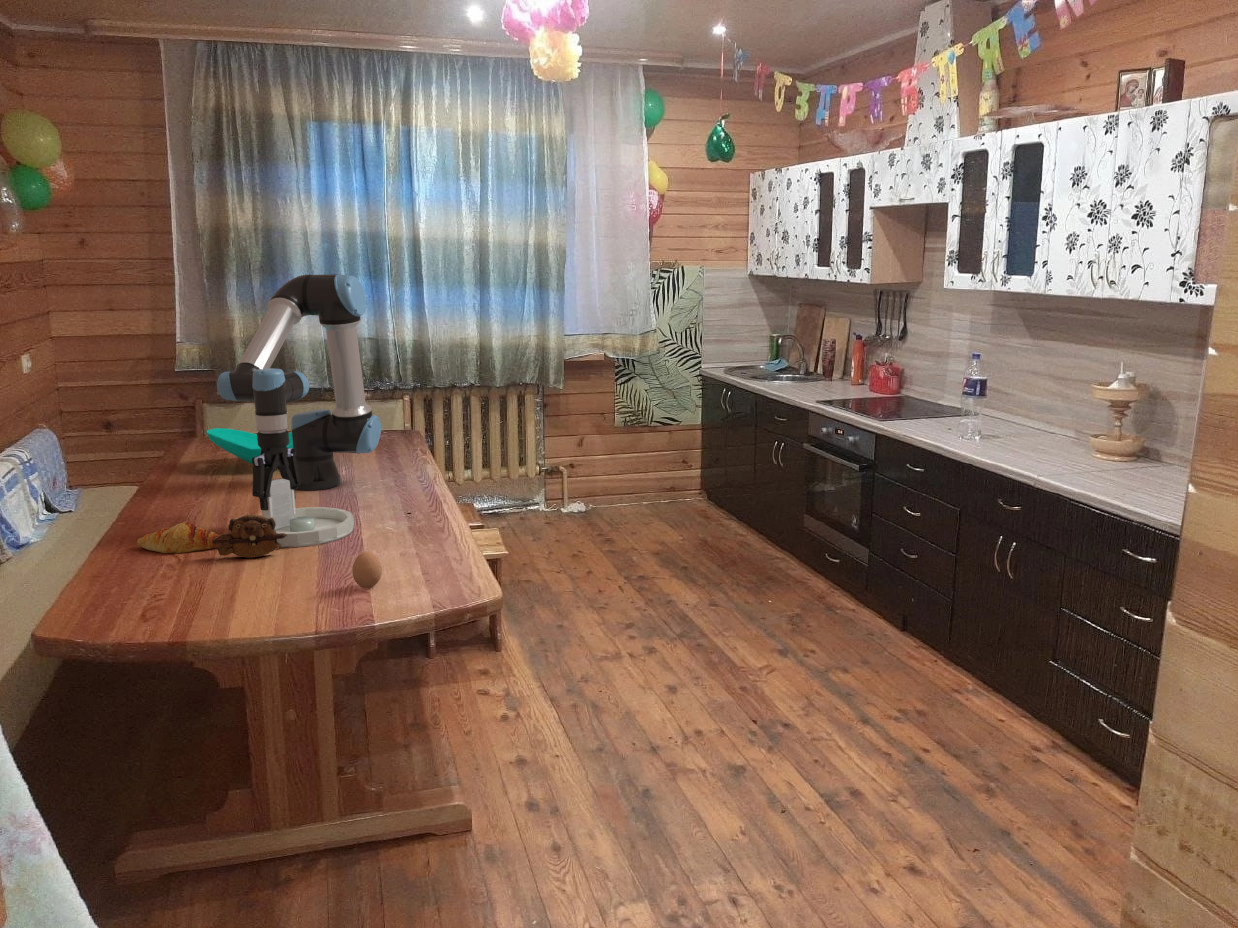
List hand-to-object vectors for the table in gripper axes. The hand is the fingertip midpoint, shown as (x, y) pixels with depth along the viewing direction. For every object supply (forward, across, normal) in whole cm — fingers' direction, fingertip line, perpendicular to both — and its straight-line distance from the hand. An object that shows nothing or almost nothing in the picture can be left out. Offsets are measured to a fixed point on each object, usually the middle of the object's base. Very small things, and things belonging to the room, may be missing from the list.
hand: (279, 517), depth 240 cm
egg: (+4, +28, +47) cm, 55 cm away
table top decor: (+4, -62, -55) cm, 83 cm away
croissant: (+4, +21, -12) cm, 24 cm away
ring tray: (+3, 0, +7) cm, 8 cm away
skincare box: (+3, 0, 0) cm, 3 cm away
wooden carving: (+4, +20, +9) cm, 23 cm away
